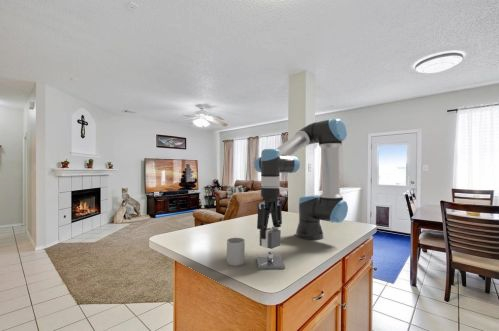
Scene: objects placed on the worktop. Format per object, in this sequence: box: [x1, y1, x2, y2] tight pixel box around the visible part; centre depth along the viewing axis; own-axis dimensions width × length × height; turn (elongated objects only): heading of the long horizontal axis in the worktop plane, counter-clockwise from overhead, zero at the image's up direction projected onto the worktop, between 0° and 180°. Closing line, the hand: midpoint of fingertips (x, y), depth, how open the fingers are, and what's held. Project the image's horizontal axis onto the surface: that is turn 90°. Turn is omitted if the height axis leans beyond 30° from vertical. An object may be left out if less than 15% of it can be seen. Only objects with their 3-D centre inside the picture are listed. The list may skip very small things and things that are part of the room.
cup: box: [226, 237, 246, 267], centre depth 93 cm, size 7×10×9 cm
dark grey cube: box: [259, 227, 282, 250], centre depth 91 cm, size 6×6×6 cm
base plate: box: [256, 250, 286, 270], centre depth 91 cm, size 10×10×4 cm
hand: (269, 244), depth 91 cm, fingers closed on dark grey cube, 6 cm apart
